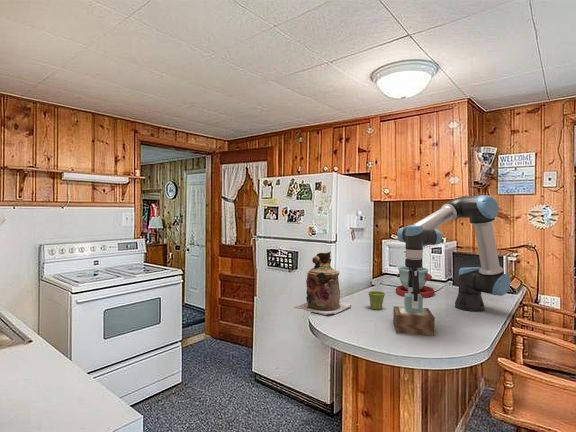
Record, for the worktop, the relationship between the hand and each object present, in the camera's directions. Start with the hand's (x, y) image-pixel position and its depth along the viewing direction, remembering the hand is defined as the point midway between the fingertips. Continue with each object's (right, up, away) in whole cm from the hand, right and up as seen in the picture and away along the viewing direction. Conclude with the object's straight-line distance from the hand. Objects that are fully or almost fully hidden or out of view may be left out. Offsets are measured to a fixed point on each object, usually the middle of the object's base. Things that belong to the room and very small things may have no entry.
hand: (413, 304), depth 171 cm
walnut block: (0, -11, 0) cm, 11 cm away
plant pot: (-8, -11, +36) cm, 39 cm away
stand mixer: (+27, -11, +76) cm, 82 cm away
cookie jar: (-38, -11, +35) cm, 53 cm away
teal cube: (0, -3, 0) cm, 3 cm away
